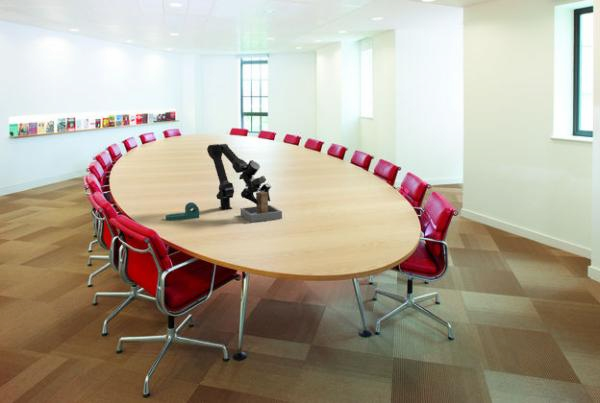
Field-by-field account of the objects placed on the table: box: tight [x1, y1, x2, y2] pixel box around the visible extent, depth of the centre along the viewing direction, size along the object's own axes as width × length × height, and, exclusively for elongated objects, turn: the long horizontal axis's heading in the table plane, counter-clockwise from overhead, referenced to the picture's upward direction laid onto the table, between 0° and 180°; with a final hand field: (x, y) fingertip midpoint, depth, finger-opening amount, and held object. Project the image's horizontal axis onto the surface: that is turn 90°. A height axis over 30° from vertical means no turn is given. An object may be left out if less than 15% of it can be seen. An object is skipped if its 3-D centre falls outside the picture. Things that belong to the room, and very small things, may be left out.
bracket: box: [164, 201, 200, 222], centre depth 269 cm, size 18×7×8 cm, turn 110°
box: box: [239, 204, 283, 224], centre depth 270 cm, size 18×18×4 cm
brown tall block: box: [255, 191, 269, 214], centre depth 268 cm, size 4×4×13 cm
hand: (263, 202), depth 267 cm, fingers open, 9 cm apart
